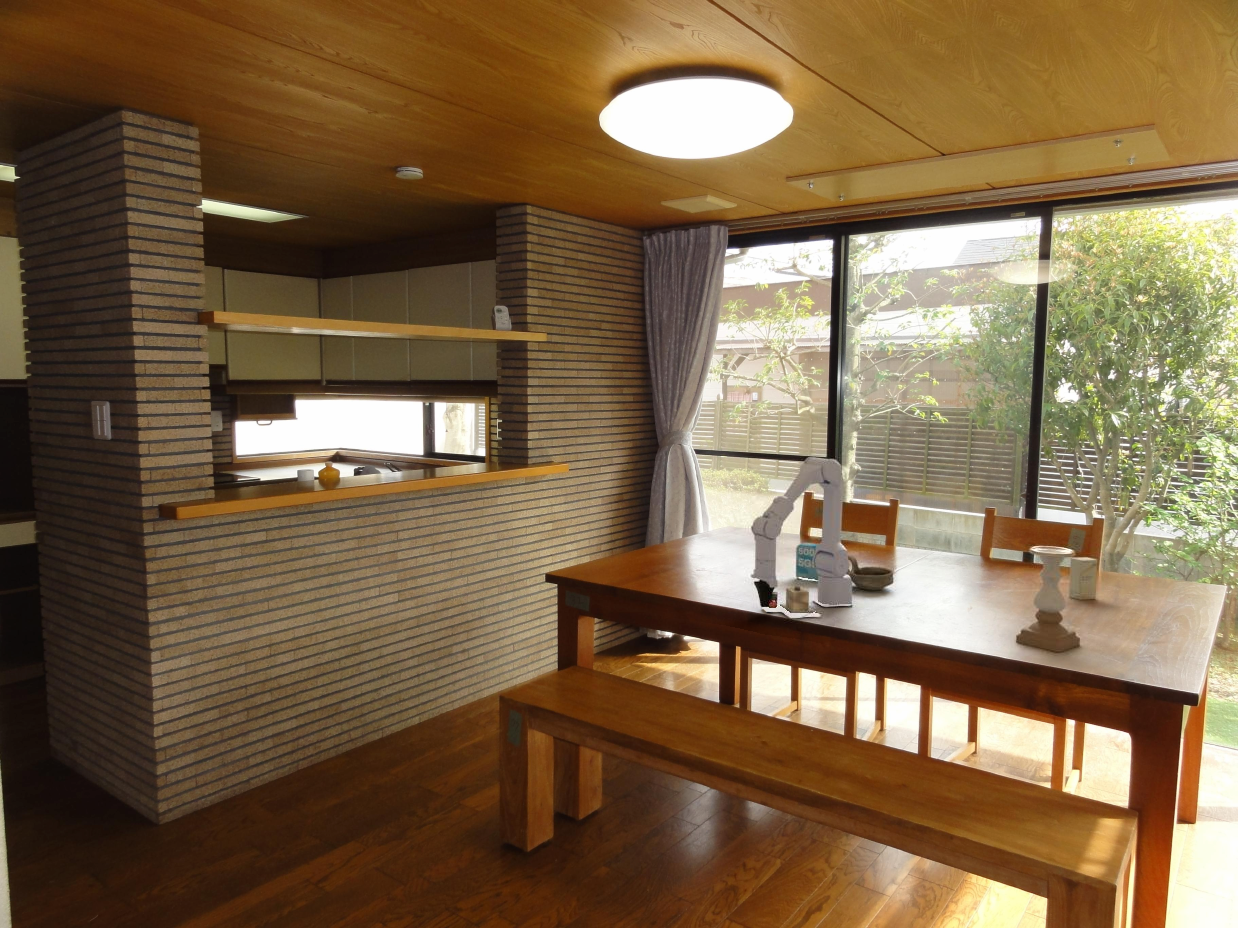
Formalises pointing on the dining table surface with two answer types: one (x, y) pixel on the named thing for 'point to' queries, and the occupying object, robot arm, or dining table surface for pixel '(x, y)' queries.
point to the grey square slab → (798, 610)
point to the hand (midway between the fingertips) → (764, 606)
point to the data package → (806, 561)
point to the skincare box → (1083, 578)
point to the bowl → (869, 576)
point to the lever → (773, 600)
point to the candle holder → (1049, 605)
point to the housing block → (797, 598)
